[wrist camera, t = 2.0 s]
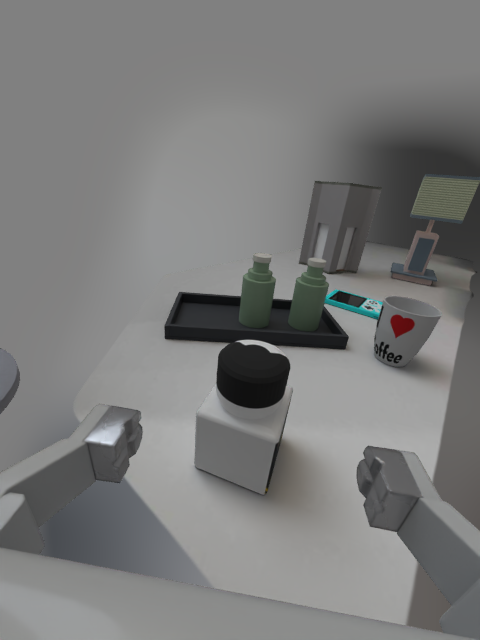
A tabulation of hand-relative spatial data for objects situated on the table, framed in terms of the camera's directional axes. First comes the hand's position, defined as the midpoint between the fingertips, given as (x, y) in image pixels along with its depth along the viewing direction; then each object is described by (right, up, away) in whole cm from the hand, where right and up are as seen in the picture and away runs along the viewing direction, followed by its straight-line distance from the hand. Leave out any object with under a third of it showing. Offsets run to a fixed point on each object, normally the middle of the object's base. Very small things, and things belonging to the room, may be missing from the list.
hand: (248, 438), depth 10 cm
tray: (+2, +4, +44) cm, 44 cm away
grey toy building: (+31, +22, +88) cm, 96 cm away
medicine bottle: (0, -9, +18) cm, 20 cm away
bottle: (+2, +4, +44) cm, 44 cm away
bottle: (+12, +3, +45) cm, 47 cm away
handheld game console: (+30, +8, +58) cm, 66 cm away
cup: (+26, -2, +37) cm, 45 cm away
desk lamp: (+63, +20, +91) cm, 112 cm away
